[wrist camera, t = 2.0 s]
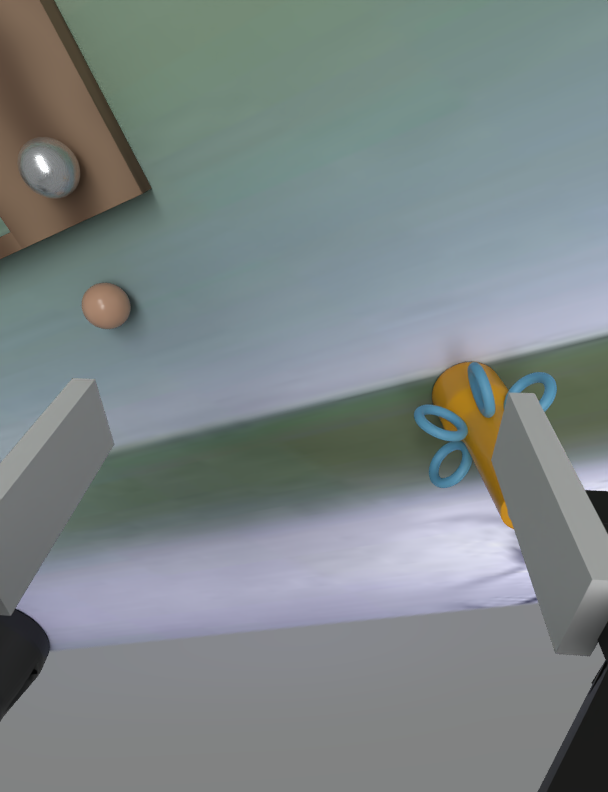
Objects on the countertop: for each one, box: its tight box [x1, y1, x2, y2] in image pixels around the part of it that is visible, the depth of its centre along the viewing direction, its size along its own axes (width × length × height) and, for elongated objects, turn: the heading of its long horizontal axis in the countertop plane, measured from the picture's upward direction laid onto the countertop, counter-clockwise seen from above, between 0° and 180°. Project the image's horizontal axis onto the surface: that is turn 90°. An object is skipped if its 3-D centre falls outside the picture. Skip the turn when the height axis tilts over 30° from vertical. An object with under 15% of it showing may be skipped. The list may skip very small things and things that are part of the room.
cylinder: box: [414, 362, 557, 529], centre depth 38 cm, size 12×10×15 cm
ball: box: [82, 283, 131, 329], centre depth 39 cm, size 4×4×4 cm
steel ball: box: [18, 137, 80, 199], centre depth 32 cm, size 4×4×4 cm
